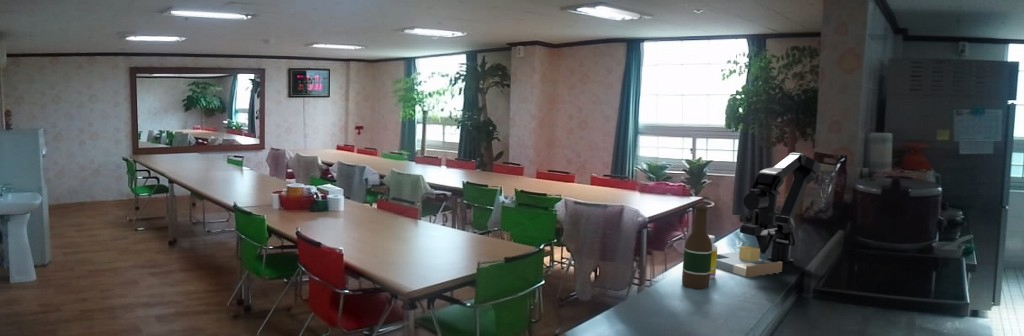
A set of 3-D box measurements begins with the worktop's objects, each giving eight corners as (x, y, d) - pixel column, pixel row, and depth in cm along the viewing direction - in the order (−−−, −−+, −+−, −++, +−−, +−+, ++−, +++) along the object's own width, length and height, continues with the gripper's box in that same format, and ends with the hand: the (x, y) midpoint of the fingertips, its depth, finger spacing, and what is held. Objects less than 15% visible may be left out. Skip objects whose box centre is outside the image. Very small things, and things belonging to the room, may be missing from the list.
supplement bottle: (712, 274, 208) (716, 234, 207) (717, 280, 202) (720, 238, 200) (691, 272, 209) (694, 233, 207) (694, 278, 202) (698, 237, 201)
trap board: (735, 259, 231) (736, 249, 231) (781, 272, 215) (782, 262, 214) (702, 262, 223) (703, 252, 223) (748, 277, 207) (749, 266, 206)
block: (748, 257, 223) (749, 245, 223) (759, 260, 220) (760, 248, 219) (738, 258, 221) (740, 246, 221) (749, 261, 217) (750, 249, 217)
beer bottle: (709, 284, 196) (716, 204, 194) (708, 291, 189) (715, 208, 186) (682, 281, 199) (688, 202, 196) (680, 287, 191) (686, 205, 189)
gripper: (765, 203, 234) (761, 246, 236) (728, 205, 225) (725, 250, 226) (792, 208, 225) (788, 253, 226) (755, 211, 215) (751, 257, 217)
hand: (762, 253), depth 224 cm, fingers closed
